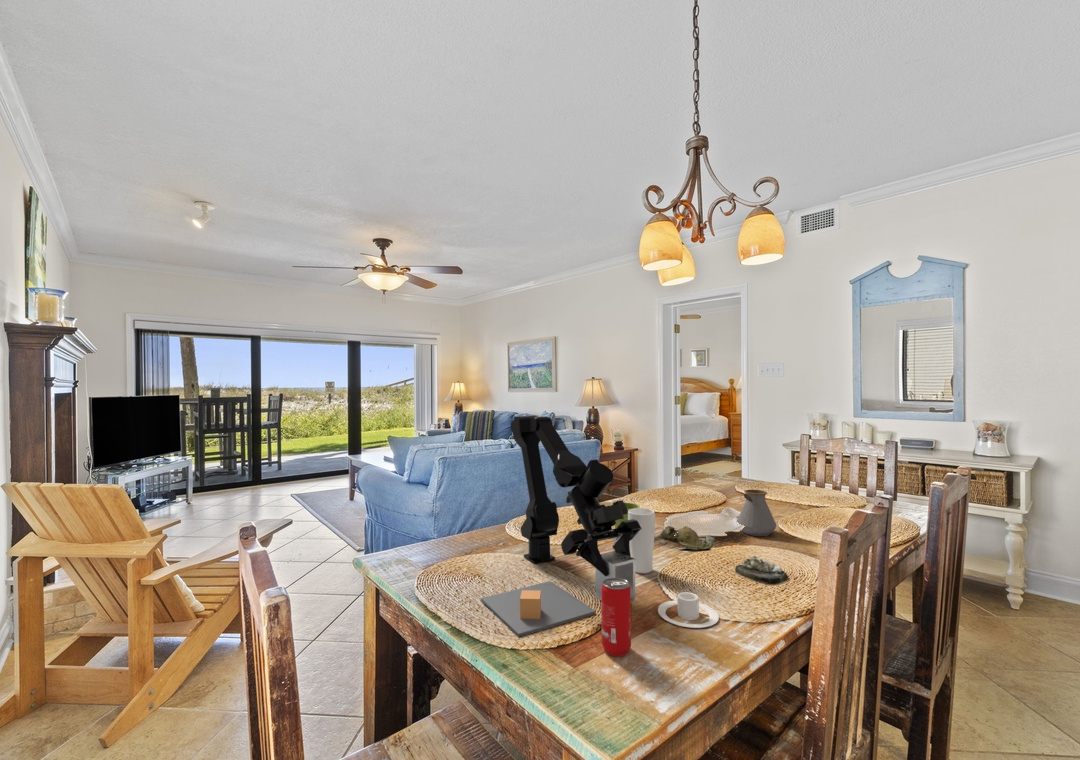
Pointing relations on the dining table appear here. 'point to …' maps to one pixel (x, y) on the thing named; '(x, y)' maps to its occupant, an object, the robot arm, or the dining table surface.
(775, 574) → the stone carving
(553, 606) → the slate board
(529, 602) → the orange block
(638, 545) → the drinking glass
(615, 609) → the beverage can
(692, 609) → the candle holder
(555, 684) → the dining table surface
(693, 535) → the olive green lumpy piece
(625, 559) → the steel cover
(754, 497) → the coffee pot
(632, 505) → the plant pot
